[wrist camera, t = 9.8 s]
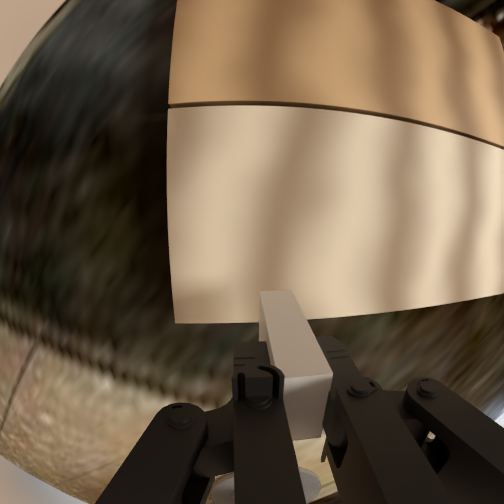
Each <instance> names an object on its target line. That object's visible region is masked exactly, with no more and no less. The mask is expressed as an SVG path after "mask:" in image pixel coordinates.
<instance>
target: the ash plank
mask: <svg viewBox="0 0 504 504" xmlns="http://www.w3.org/2000/svg"><path fill="white" fill-rule="evenodd" d="M167 212H168V237H169V255H170V270H171V283H172V295H173V306H174V316H175V323H242V322H259V291H280V290H292V292H293V294H294V296H295V298H296V300H297V302H298V304H299V306H300V308H301V310H302V312H303V314H304V316H305V318H306V319H320V318H332V317H344V316H354V315H364V314H374V313H383V312H391V311H399V310H407V309H414V308H422V307H428V306H435V305H441V304H448V303H454V302H460V301H465V300H471V299H476V298H482V297H487V296H492V295H497V294H502V293H504V150H503V149H500V148H497V147H494V146H492V145H489V144H486V143H483V142H480V141H477V140H474V139H470V138H467V137H464V136H460V135H457V134H453V133H450V132H446V131H442V130H439V129H435V128H431V127H426V126H422V125H418V124H413V123H409V122H404V121H399V120H394V119H388V118H383V117H377V116H371V115H364V114H357V113H350V112H342V111H333V110H324V109H313V108H300V107H283V106H203V107H186V108H173V109H168V125H167Z"/></svg>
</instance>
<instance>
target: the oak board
mask: <svg viewBox="0 0 504 504" xmlns="http://www.w3.org/2000/svg"><path fill="white" fill-rule="evenodd" d="M168 104H169V105H170V107H171V108H172V109H173V108H186V107H203V106H283V107H300V108H313V109H324V110H333V111H342V112H350V113H357V114H364V115H371V116H377V117H383V118H388V119H394V120H399V121H404V122H409V123H413V124H418V125H422V126H426V127H431V128H435V129H439V130H442V131H446V132H450V133H453V134H457V135H460V136H464V137H467V138H470V139H474V140H477V141H480V142H483V143H486V144H489V145H492V146H494V147H497V148H500V149H503V150H504V51H503V48H502V44H501V41H500V38H499V37H498V36H497V35H495V34H494V33H492V32H491V31H489V30H488V29H486V28H484V27H483V26H481V25H480V24H478V23H476V22H475V21H473V20H471V19H469V18H468V17H466V16H464V15H462V14H460V13H459V12H457V11H455V10H453V9H451V8H449V7H447V6H445V5H443V4H441V3H439V2H437V1H435V0H177V7H176V15H175V23H174V32H173V42H172V53H171V66H170V81H169V100H168Z"/></svg>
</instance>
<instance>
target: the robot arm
mask: <svg viewBox="0 0 504 504" xmlns="http://www.w3.org/2000/svg"><path fill="white" fill-rule="evenodd" d="M232 393H233V397H232V399H231V400H230V401H229V402H228V403H227V404H226V405H224V406H222V407H221V408H218V409H215V410H211V411H206V412H204V411H203V410H202V409H201V408H199V407H198V406H196V405H193V404H190V403H174V404H170V405H168V406H165V407H163V408H162V409H161V410H160V411H159V412H158V413H157V414H156V415H155V417H154V418H153V420H152V421H151V423H150V424H149V426H148V427H147V429H146V430H145V432H144V433H143V434H142V436H141V437H140V439H139V440H138V442H137V443H136V445H135V446H134V448H133V449H132V451H131V452H130V453H129V455H128V456H127V458H126V459H125V461H124V462H123V464H122V465H121V467H120V468H119V469H118V471H117V472H116V474H115V475H114V477H113V478H112V480H111V481H110V483H109V484H108V485H107V487H106V488H105V490H104V491H103V493H102V494H101V495H100V497H99V498H98V500H97V501H96V503H95V504H205V502H206V500H207V497H208V495H209V492H210V489H211V487H212V484H213V482H214V479H215V476H218V475H222V474H226V473H230V472H234V496H235V504H306V499H305V495H304V491H303V486H302V482H301V477H300V473H299V468H298V464H297V459H296V455H295V450H294V446H293V442H292V441H294V440H303V439H311V438H319V437H321V433H322V429H323V428H324V431H325V434H326V440H325V444H324V448H323V452H322V456H321V462H325V459H326V455H327V458H328V461H329V464H330V467H331V471H332V474H333V477H334V480H335V483H336V486H337V489H338V493H339V496H340V499H341V502H342V504H504V428H503V427H502V426H500V425H499V424H497V423H496V422H495V421H493V420H492V419H490V418H489V417H488V416H486V415H485V414H484V413H482V412H481V411H479V410H478V409H477V408H475V407H474V406H472V405H471V404H470V403H468V402H467V401H466V400H464V399H463V398H461V397H460V396H459V395H457V394H456V393H454V392H453V391H452V390H450V389H449V388H448V387H446V386H445V385H443V384H442V383H441V382H439V381H437V380H435V379H431V378H417V379H414V380H412V381H411V382H410V383H409V384H408V386H407V389H406V391H386V390H383V389H382V388H381V386H380V385H379V384H378V383H377V382H376V381H374V380H372V379H370V378H366V377H362V375H361V374H360V372H359V370H358V369H357V367H356V366H355V364H354V362H353V361H352V359H351V358H350V357H349V354H348V353H347V351H345V348H344V346H343V345H342V343H341V342H340V341H338V340H337V339H335V338H334V337H332V336H325V337H315V336H314V334H313V332H312V330H311V328H310V326H309V324H308V322H307V320H306V318H305V316H304V314H303V312H302V310H301V308H300V306H299V304H298V302H297V300H296V298H295V296H294V294H293V292H292V290H280V291H259V341H257V342H239V343H238V345H237V346H236V347H235V348H234V373H233V376H232ZM430 431H431V432H432V433H433V434H434V435H435V438H434V439H430V438H428V437H427V436H428V434H429V432H430Z"/></svg>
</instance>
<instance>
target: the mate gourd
mask: <svg viewBox="0 0 504 504" xmlns="http://www.w3.org/2000/svg"><path fill="white" fill-rule="evenodd" d="M298 468H299V473H300V477H301V482H302V486H303V491H304V495H305V499H306V504H307V503H309V502H310V501H311V500H313V499H314V498H315V497H316V496H317V495H318V494H319V492H320V490H321V483H320V480H319V477H318V476H317V475H316V474H315V473H314V472H312V471H310V470H308V469H305V468H301V467H298ZM211 500H212V501H213V503H214V504H235V496H234V472H233V473H231V474H228V475H226V476H224V477H222V478H221V479H219V480H217V481H216V482H215V483H214V484H213V486H212V488H211Z"/></svg>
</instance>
